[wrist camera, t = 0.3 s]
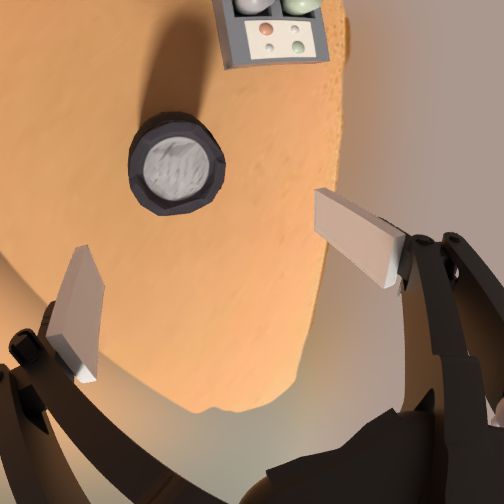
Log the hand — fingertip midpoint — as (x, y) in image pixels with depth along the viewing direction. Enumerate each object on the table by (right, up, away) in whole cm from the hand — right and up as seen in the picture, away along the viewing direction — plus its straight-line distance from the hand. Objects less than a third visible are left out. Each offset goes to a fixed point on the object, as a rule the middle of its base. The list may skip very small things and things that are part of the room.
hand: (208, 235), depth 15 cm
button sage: (+8, +35, +13) cm, 38 cm away
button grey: (+2, +33, +12) cm, 35 cm away
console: (+4, +36, +14) cm, 39 cm away
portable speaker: (-10, +14, +21) cm, 28 cm away
